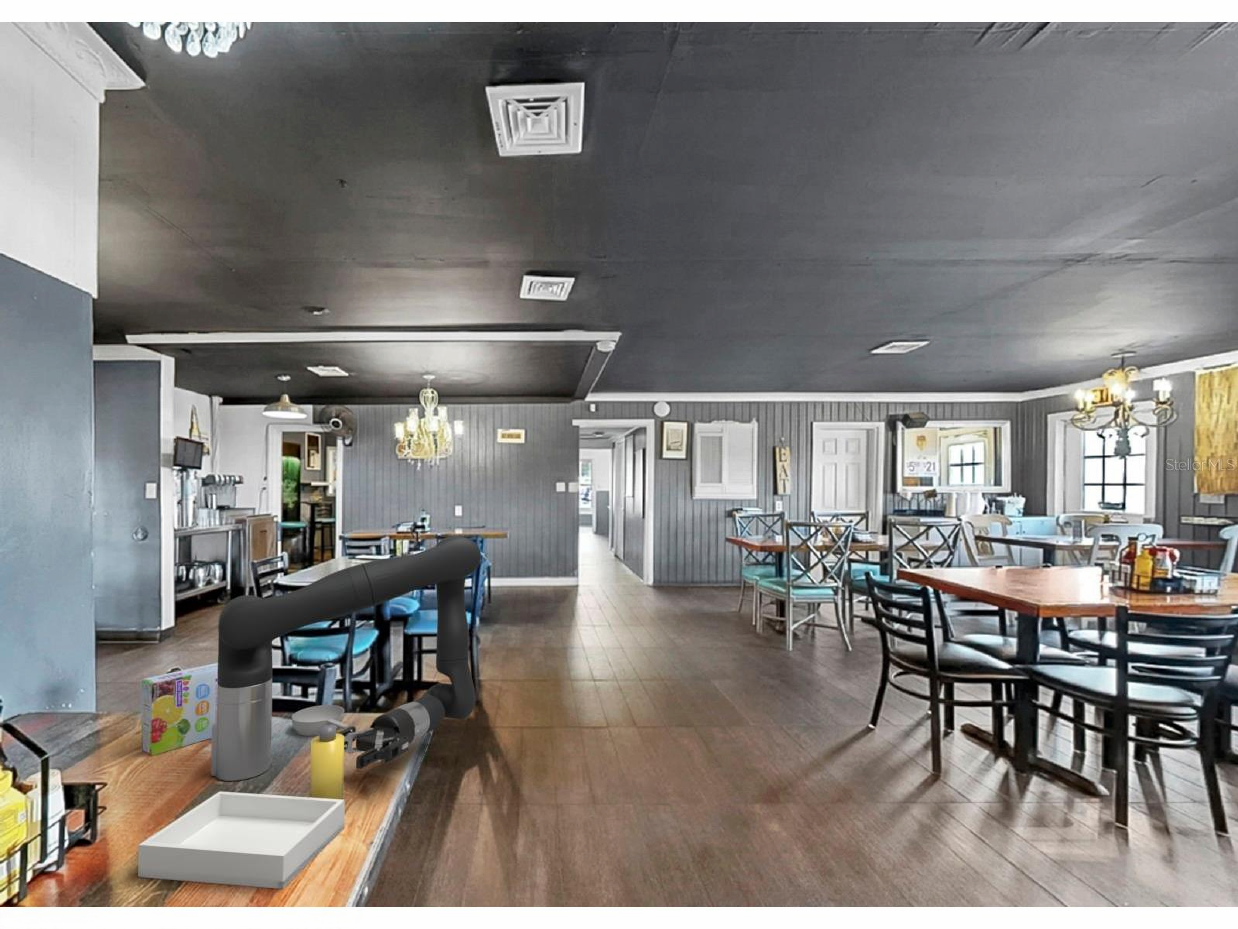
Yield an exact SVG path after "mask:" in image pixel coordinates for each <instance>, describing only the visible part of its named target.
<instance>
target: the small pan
mask: <svg viewBox="0 0 1238 929" xmlns="http://www.w3.org/2000/svg"><path fill="white" fill-rule="evenodd" d="M344 718H345V709H344V708H343V707H342V706H339V705H334V704H331V705H330V704H328V705H325V704H324V705H316V706H310V707H307V708H303V709H300V710H298V711H296V712H295V713H293V714H292V716H291V723H292V726H293V728H294V730H295V731H296V733H297V734H299V735H302V736H307V737H317V736H319V728H320V727H322V726H324V725H336V730H337V729H338V728H341V729H347V728H349V724H347V723H344V722H343V720H344Z"/></svg>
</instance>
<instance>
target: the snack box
mask: <svg viewBox="0 0 1238 929" xmlns="http://www.w3.org/2000/svg"><path fill="white" fill-rule="evenodd" d="M217 691H218V662H214V663H210V664H207V665H201V666H196V667H191V668H187V669H183V670H182V669H181V670H177V671H174V672H169V673H164V674H159V675H155V676H150V677H146V678H142V680H141V750H142V752H144V753H146V754H147V755H149V756H152V757H153V756H156V755H160V754H162V753H166V752H169V751H173V750H175V749H180V748H182V747H187V746H190V745H193V744H197V743H201V742H203V741H206V740H212V725H213V724H215V723H217Z"/></svg>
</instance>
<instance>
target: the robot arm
mask: <svg viewBox="0 0 1238 929" xmlns="http://www.w3.org/2000/svg"><path fill="white" fill-rule="evenodd" d="M481 559H482V553H481V549H480V547H479V546H478V544H477V543H476V542H475V541H473V540H472V539H471V538H467V537H464V536H447V537H445V538H442V539H440V540H439V541H438V542H437V544H436V545H435V546H433V547H431V548H428V549H426V550H422V551H421V552H418V553H414V554H409V555H403V556H396V557H389V558H382V559H376V560H373V561H372V560H371V561H367V562H362V563H360V564H356V565H353V566H350V567H346V568H344V569H340V570H337V571H334V572H332V573H330V574H328V575H326V576H323V577H322V578H320V579H318V580H316V581H314V582H311V583H310V584H307V585H305V586H303V587H301V588H299V589H296V590H294V591H290V592H286V593H283V594H279V595H276V596H275V595H274V596H270V597H266V598H261V597H259V596H256V595H254V594H253V595H249V594H248V595H247V594H246V595H240V596H237V597H235V598H233V599H232V600H229V602H227V604H225V605H224V607H222V609H221V611H220V613H219V618H218V625H217V626H218V627H217V629H218V639H217V640H218V646H217V647H218V648H217V650H218V651H217V652H218V653H217V663H218V691H217V723H215V724H213V725H212V738H211V751H210V754H211V755H210V756H211V757H210V776H214V777H216V778H217V779H219V780H221V781H226V782H227V781H228V782H229V781H230V782H231V781H243V780H246V779H251V778H254V777H257V776H259V775H262V774H264V773H265V772H267V771H268V770H270V768H271V766H272V726H273V725H272V721H273V720H272V719H273V718H272V713H273V640H275V639H277V638H280V637H281V636H284V635H286V634H288V633H291V632H293V631H296V630H299V629H301V628H303V627H307V626H310V625H313V624H318V623H322V622H327V621H329V620H333V619H336V618H337V619H338V618H339V617H343V616H347V615H350V614H353V613H358V612H361V611H363V610H366V609H369V608H373V607H376V606H378V605H381V604H384V603H385V602H389V601H391V600H394V599H397V598H399V597H402V596H404V595H406V594H409V593H411V592H413V591H416V590H419V589H422V588H424V587H427V586H432V585H435V587H436V589H435V590H436V602H437V604H436V605H437V607H436V608H437V610H436V611H437V613H436V614H437V615H436V616H437V621H436V623H437V625H436V648H435V649H436V653H435V657H436V658H435V659H436V660H435V665H436V666H435V668H436V671H437V673H440V674H442V675H443V676H446V677H448V679H449V680H450V683H445V682H442V683H441V682H440V683H437V684H433V685H432V686H430V687H429V689H428V690H426V692H424V693H423V695H422V696H420V697H419V698H417V699H415V700H413V701H411V702H408V703H404V704H402V705H399V706H397V707H395V708H393V709H390V710H389V711H386V712H385V713H382V714H380V715H378V716H377V717H376V718H375V719H373V721H372V723H371V725H370V726H369V727H367V728H363V729H362V730H358V731H357V728H356V726H354V725H353V726H350V727H349V726H348V727H347V728H344V729H343V730H340V731H338V732H336V733H337V734H342V735H343V736H344V753H347V754H349V755H351V754H356V753H360V752H362V753H361V754H359V755H357V756H356V759H355V768H356V769H357V770H362V769H364V768H365V767H366V768H367V767H369V765H372V764H373V763H380V762H382V760H384V762H385V763H391V762H393V761H394V760H396V759H397V758H399V757H401V756H402V755H403V754H404V755H405V753H407V752H408V751H409V745H411V744H412V743H415V742H417V741H418V740H420V739H421V738H422V737H423V736H424V735H427V734H428V733H430V732H432V731H434V730H435V729H436V728H437V727H439V726H440V725H441V724H442V723H443V722H444V719H445V718H446V719H447V718H448V719H453V720H454V719H455V720H465V719H467V718H468V717H469V716H471V715H472V713H473V712H474V709H475V707H476V700H477V697H476V691H475V686H474V682H473V677H472V672H471V669H470V664H469V660H470V659H469V656H470V653H469V652H470V634H469V633H470V632H469V631H470V630H469V623H468V617H467V612H466V602H465V587H466V585H465V584H466V577H468V576H470V575H472V574H473V573H474V572H475V571H476V570H477V569H478V567H479V566H480V563H481V561H482V560H481ZM353 742H355V747H353Z"/></svg>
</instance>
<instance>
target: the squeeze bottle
mask: <svg viewBox="0 0 1238 929" xmlns="http://www.w3.org/2000/svg"><path fill="white" fill-rule="evenodd" d="M337 733H338V732H337V729H336V725H324V726H322V727H320V728H319V735H316V736H314V737H313V738H312V739H311V741H310V776H309V777H310V779H309V780H310V781H309V784H310V785H309V797H310V798H326V799H341V800H344V783H345V782H344V780H345V779H344V774H345V771H344V769H345V768H344V767H345V765H344V764H345V760H344V759H345V752H344V747H345V745H344V736H343V735H342V734H337Z"/></svg>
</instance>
